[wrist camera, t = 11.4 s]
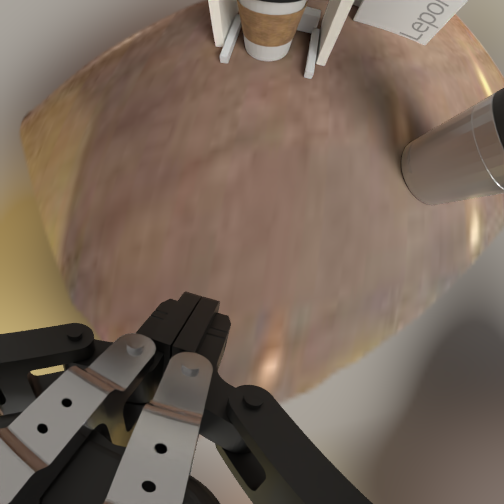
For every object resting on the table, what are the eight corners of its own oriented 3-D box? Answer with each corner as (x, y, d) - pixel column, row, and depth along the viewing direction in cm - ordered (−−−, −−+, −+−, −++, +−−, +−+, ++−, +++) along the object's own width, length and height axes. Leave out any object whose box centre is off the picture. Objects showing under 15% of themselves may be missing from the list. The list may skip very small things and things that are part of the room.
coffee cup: (227, 61, 29) (218, -22, 14) (246, 23, 29) (246, -53, 14) (290, 75, 30) (311, -7, 15) (302, 36, 29) (323, -39, 14)
